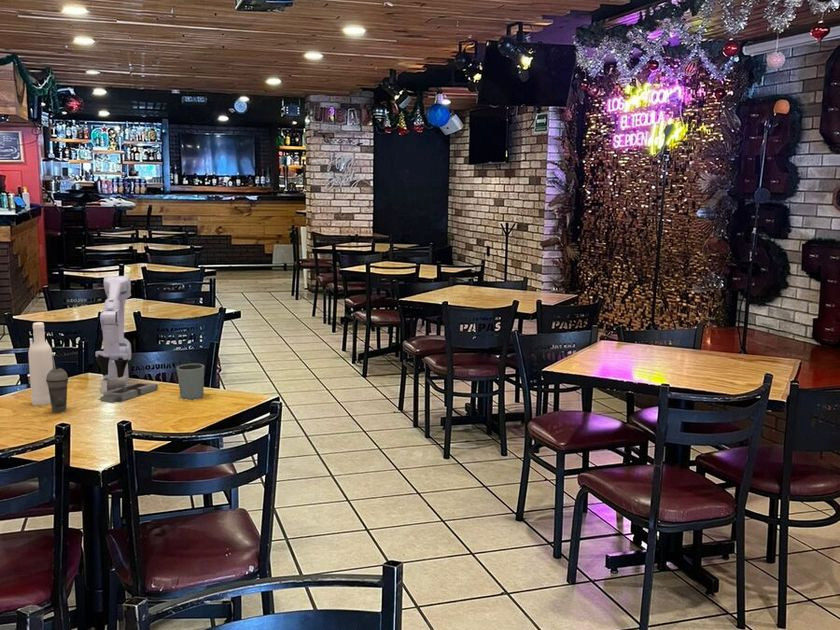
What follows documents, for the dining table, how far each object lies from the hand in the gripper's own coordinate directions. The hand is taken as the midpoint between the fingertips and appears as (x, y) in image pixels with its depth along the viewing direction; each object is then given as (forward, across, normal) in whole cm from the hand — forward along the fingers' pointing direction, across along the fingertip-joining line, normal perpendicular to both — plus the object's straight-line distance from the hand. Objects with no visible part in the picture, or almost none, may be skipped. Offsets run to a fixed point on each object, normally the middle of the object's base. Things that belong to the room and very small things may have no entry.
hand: (112, 376), depth 309 cm
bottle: (+7, -12, -23) cm, 27 cm away
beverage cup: (+7, +1, -28) cm, 29 cm away
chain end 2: (+6, +9, +6) cm, 12 cm away
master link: (+7, 0, 0) cm, 7 cm away
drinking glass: (+7, +31, +7) cm, 33 cm away
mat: (+6, +8, -1) cm, 11 cm away
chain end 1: (+6, +9, -7) cm, 13 cm away
